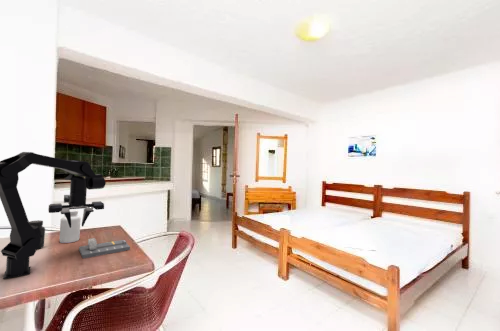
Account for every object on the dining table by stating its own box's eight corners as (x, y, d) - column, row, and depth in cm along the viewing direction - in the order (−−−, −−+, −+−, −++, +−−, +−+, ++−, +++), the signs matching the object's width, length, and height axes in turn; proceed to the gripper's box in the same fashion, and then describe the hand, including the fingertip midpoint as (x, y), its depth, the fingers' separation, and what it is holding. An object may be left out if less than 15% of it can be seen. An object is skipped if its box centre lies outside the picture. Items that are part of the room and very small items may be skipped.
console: (129, 249, 109) (130, 244, 109) (82, 258, 97) (83, 252, 97) (122, 242, 118) (123, 237, 118) (78, 250, 106) (79, 244, 106)
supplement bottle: (31, 251, 101) (33, 223, 101) (19, 249, 102) (20, 222, 103) (48, 246, 108) (49, 220, 108) (36, 244, 109) (37, 219, 109)
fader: (96, 249, 103) (96, 240, 103) (89, 250, 101) (90, 241, 101) (94, 245, 107) (94, 237, 107) (87, 246, 105) (88, 238, 105)
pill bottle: (81, 237, 122) (83, 209, 122) (76, 242, 115) (78, 212, 115) (62, 238, 119) (64, 209, 119) (56, 243, 112) (58, 212, 112)
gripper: (100, 188, 112) (98, 220, 112) (49, 188, 100) (46, 225, 100) (105, 190, 104) (103, 225, 104) (50, 191, 92) (47, 231, 91)
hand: (76, 226), depth 100 cm, fingers open, 4 cm apart
